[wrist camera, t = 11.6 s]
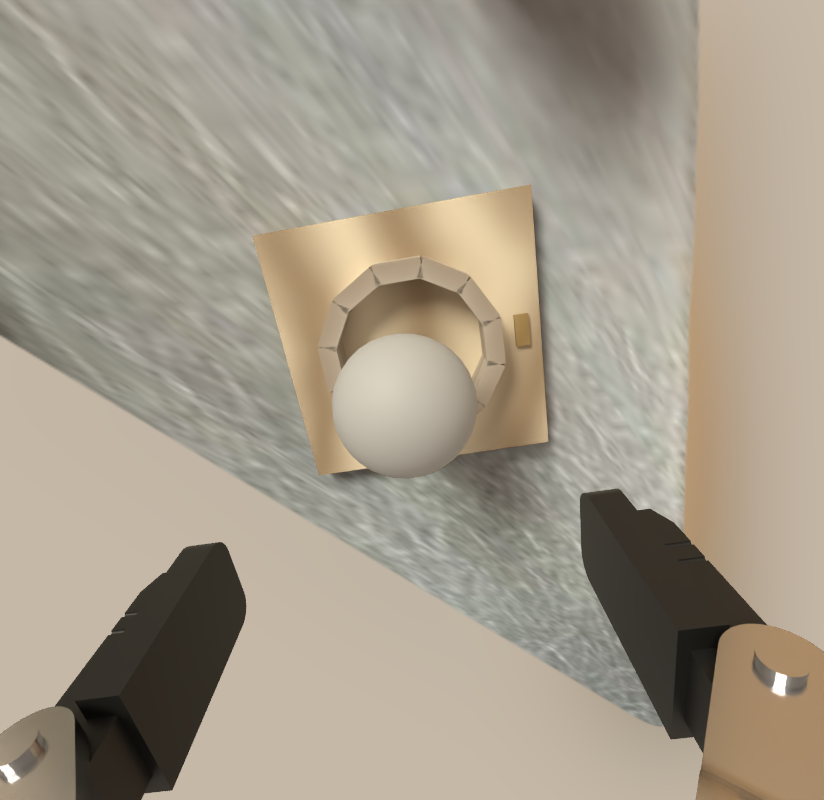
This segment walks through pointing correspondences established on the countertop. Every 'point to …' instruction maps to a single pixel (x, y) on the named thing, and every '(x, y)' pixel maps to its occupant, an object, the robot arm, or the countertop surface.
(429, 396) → the lightbulb
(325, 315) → the lamp holder
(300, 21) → the countertop surface
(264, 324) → the countertop surface
